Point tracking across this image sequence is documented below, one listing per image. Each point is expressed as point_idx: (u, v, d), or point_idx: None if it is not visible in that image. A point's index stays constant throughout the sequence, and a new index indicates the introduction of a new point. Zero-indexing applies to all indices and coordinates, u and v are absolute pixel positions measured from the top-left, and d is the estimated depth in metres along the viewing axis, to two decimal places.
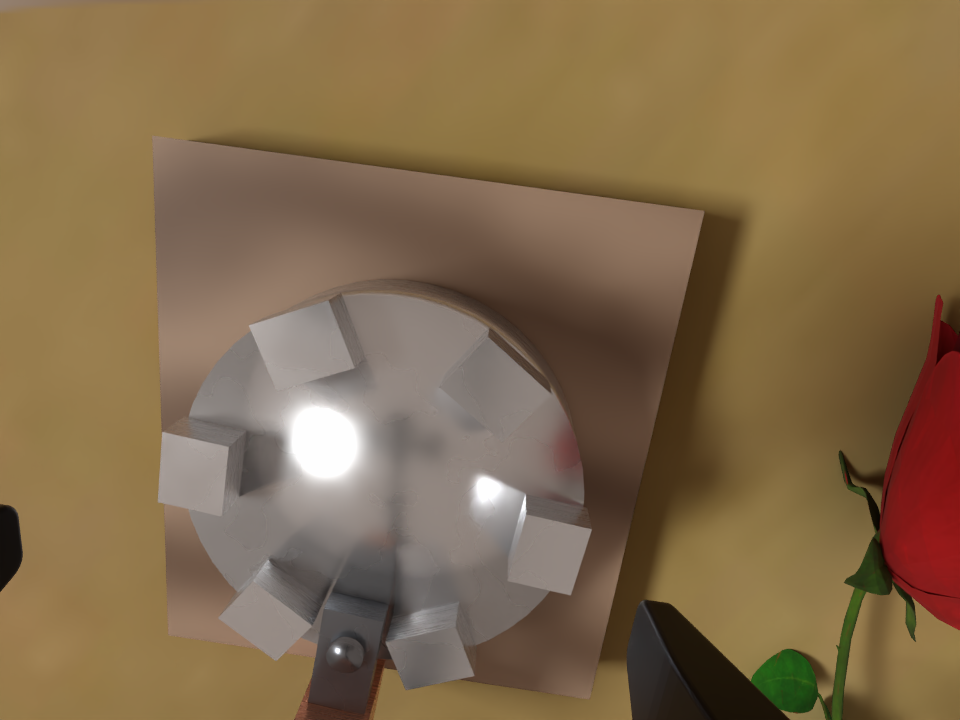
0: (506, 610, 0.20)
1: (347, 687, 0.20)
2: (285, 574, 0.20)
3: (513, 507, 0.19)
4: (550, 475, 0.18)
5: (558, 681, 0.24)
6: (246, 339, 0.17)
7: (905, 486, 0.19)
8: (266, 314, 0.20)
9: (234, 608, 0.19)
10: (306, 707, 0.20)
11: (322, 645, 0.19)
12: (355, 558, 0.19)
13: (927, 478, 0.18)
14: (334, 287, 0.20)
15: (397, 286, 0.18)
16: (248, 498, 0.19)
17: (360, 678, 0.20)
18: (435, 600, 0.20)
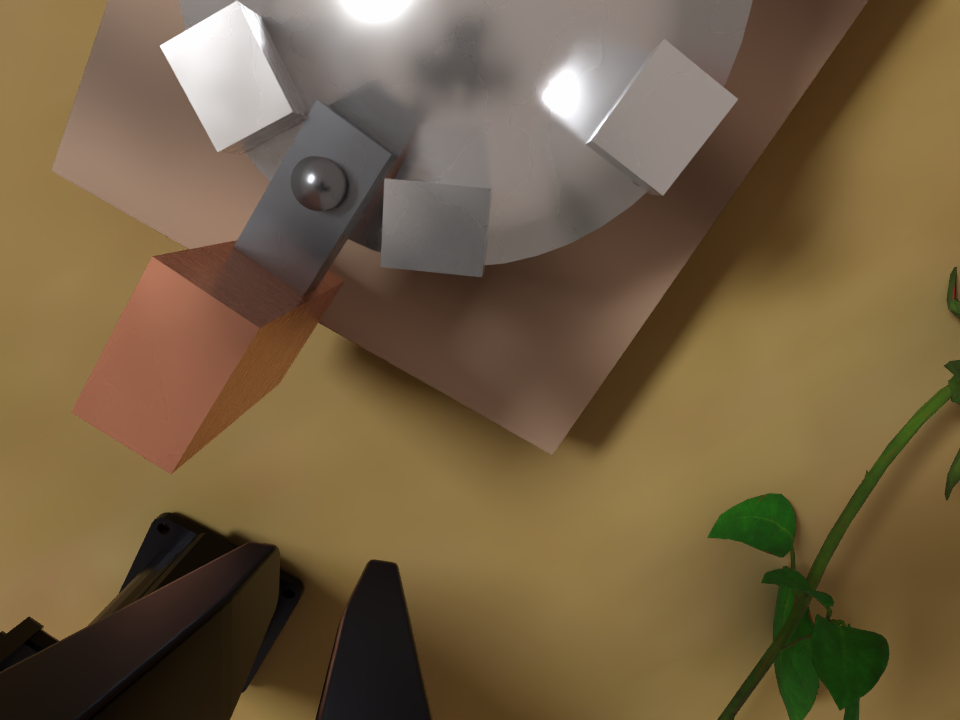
0: (547, 226, 0.14)
1: (298, 243, 0.14)
2: (275, 49, 0.14)
3: (627, 66, 0.13)
4: (696, 35, 0.13)
5: (526, 418, 0.19)
6: None
7: None
8: None
9: (191, 37, 0.13)
10: (230, 248, 0.14)
11: (290, 160, 0.13)
12: (382, 65, 0.14)
13: None
14: None
15: None
16: None
17: (322, 234, 0.14)
18: (461, 175, 0.14)
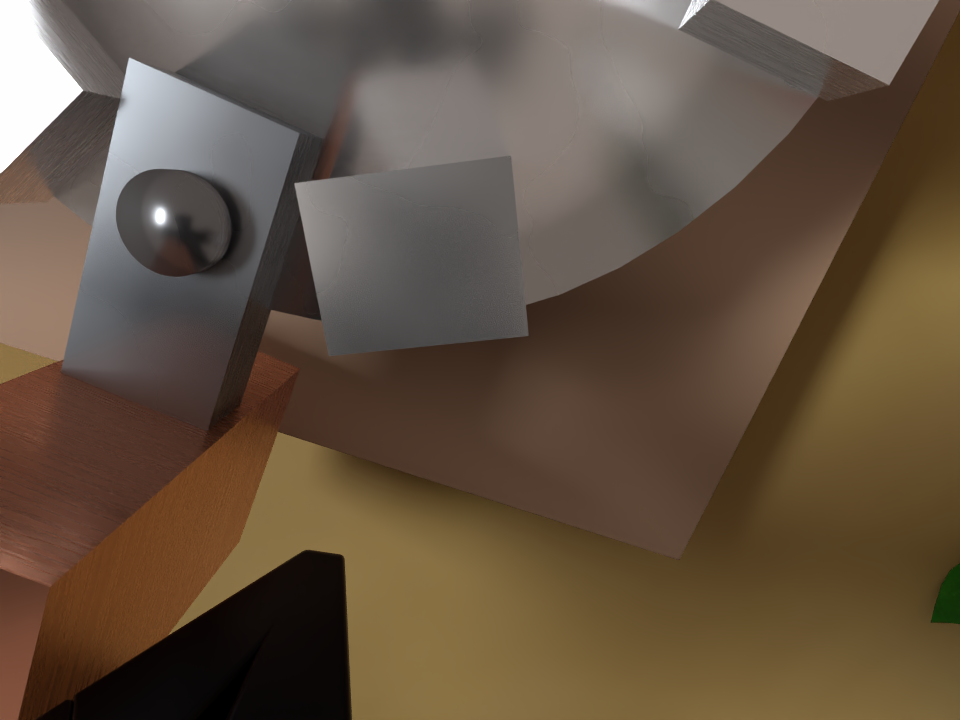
0: (629, 208, 0.07)
1: (171, 341, 0.07)
2: None
3: None
4: None
5: (628, 513, 0.12)
6: None
7: None
8: None
9: None
10: (50, 377, 0.07)
11: (114, 190, 0.07)
12: None
13: None
14: None
15: None
16: None
17: (210, 317, 0.07)
18: (448, 148, 0.07)
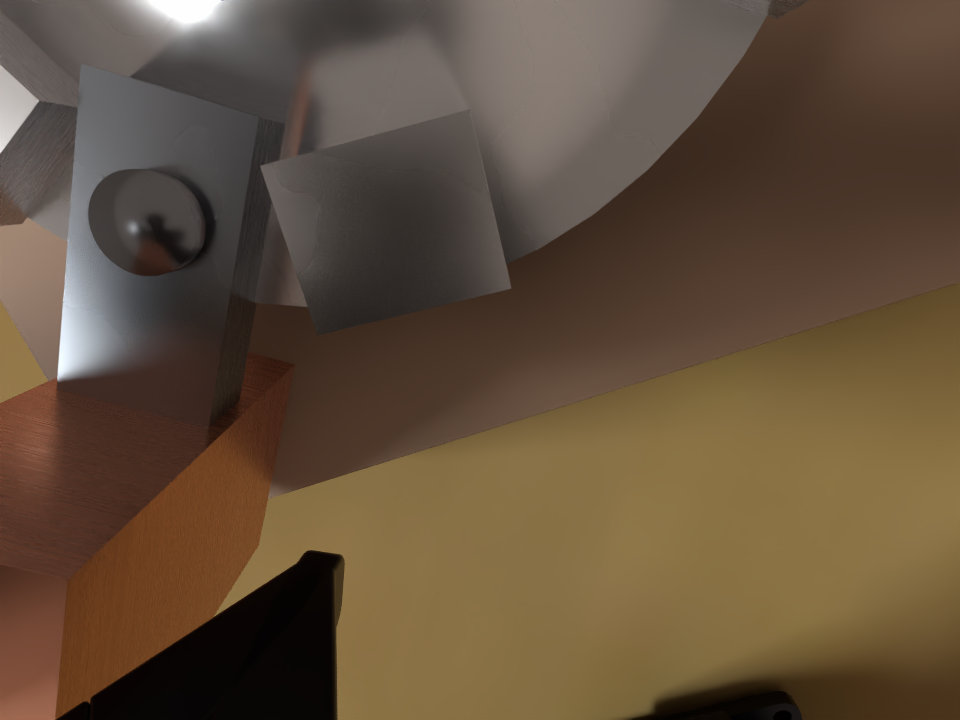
0: (596, 153, 0.08)
1: (161, 342, 0.07)
2: None
3: None
4: None
5: (904, 264, 0.11)
6: None
7: None
8: None
9: None
10: (46, 394, 0.07)
11: (84, 198, 0.07)
12: None
13: None
14: None
15: None
16: None
17: (196, 313, 0.07)
18: (409, 117, 0.07)
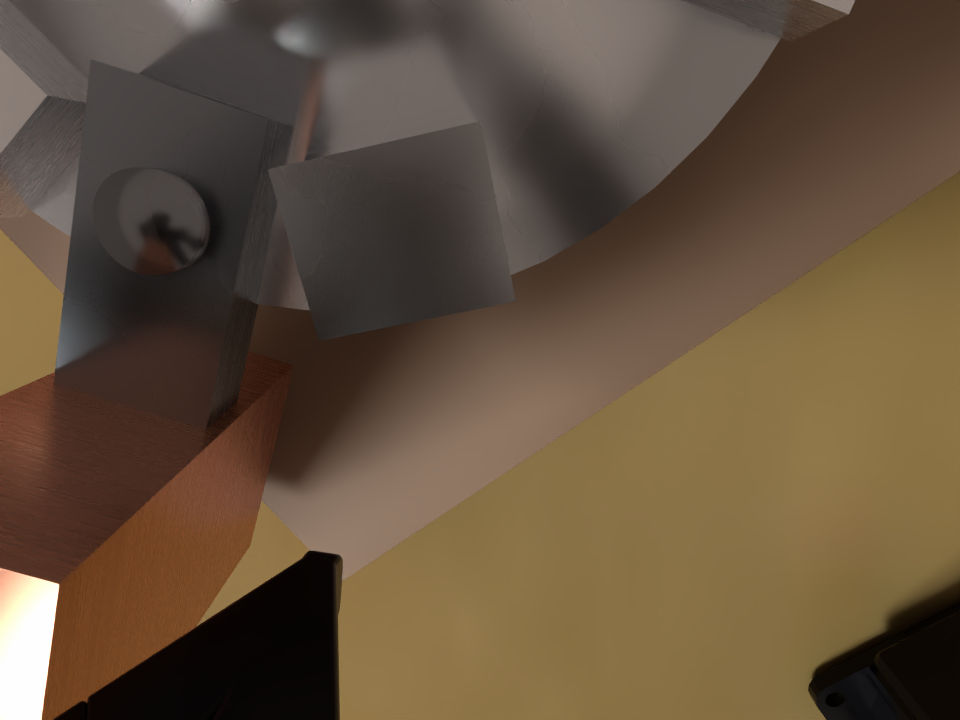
0: (605, 167, 0.07)
1: (161, 342, 0.07)
2: None
3: None
4: None
5: None
6: None
7: None
8: None
9: None
10: (42, 390, 0.07)
11: (90, 195, 0.07)
12: None
13: None
14: None
15: None
16: None
17: (197, 314, 0.07)
18: (419, 125, 0.07)
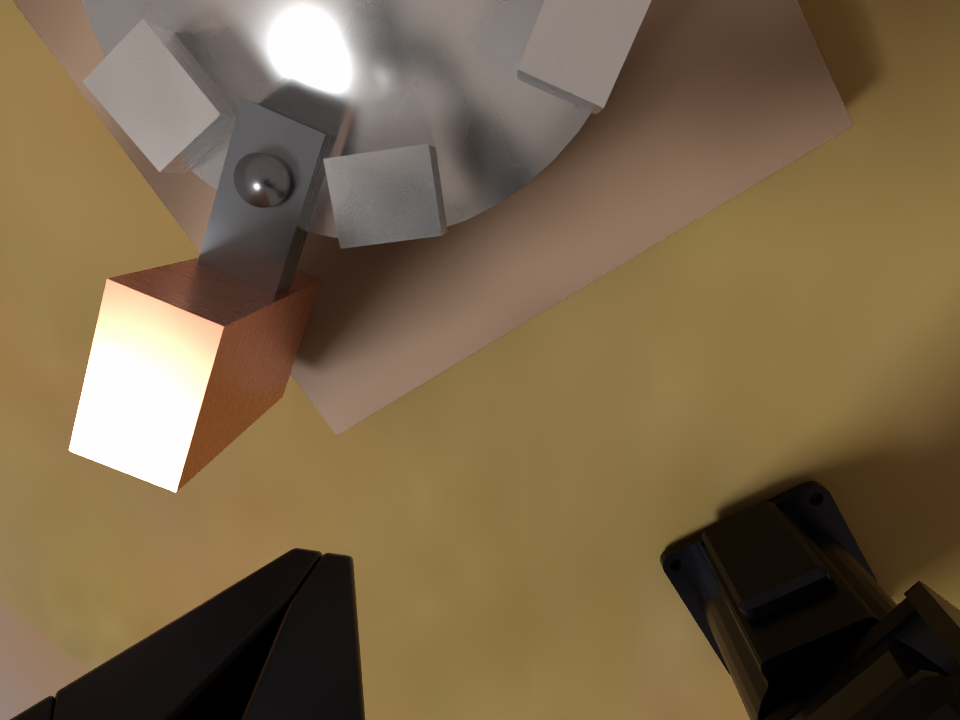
0: (499, 172, 0.14)
1: (257, 244, 0.14)
2: (195, 61, 0.14)
3: None
4: None
5: (793, 133, 0.16)
6: None
7: None
8: None
9: (110, 66, 0.13)
10: (193, 264, 0.14)
11: (230, 164, 0.14)
12: (299, 50, 0.14)
13: None
14: None
15: None
16: None
17: (278, 231, 0.14)
18: (402, 142, 0.14)
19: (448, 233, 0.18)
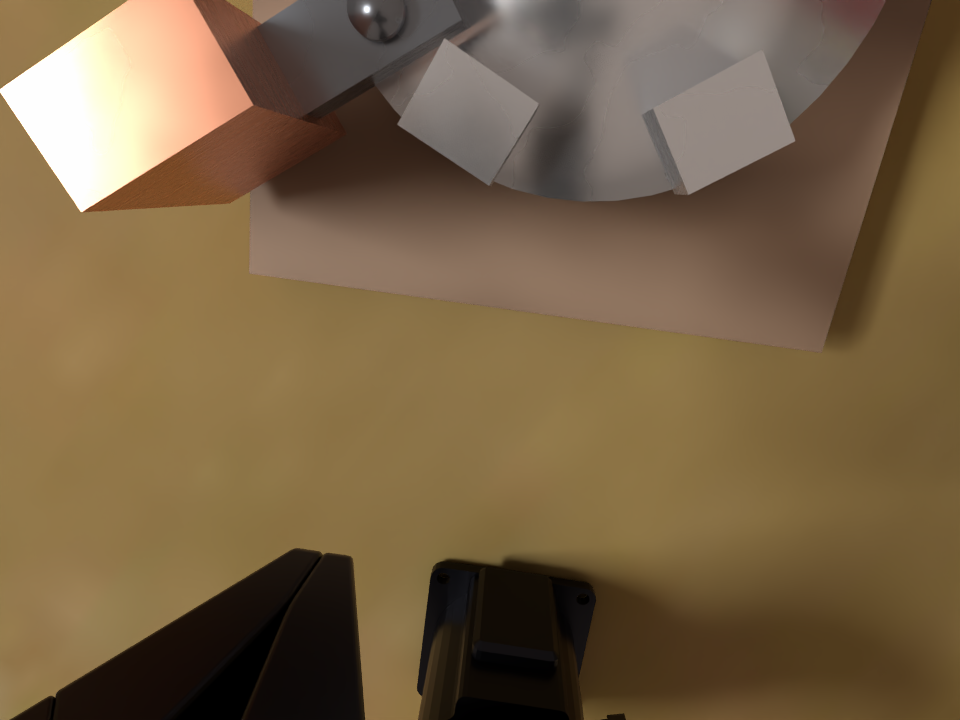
0: (569, 174, 0.14)
1: (326, 58, 0.13)
2: None
3: (714, 63, 0.13)
4: (785, 68, 0.13)
5: (781, 325, 0.18)
6: None
7: None
8: None
9: None
10: (253, 25, 0.13)
11: None
12: None
13: None
14: None
15: None
16: None
17: (354, 63, 0.13)
18: (514, 82, 0.14)
19: (480, 185, 0.17)
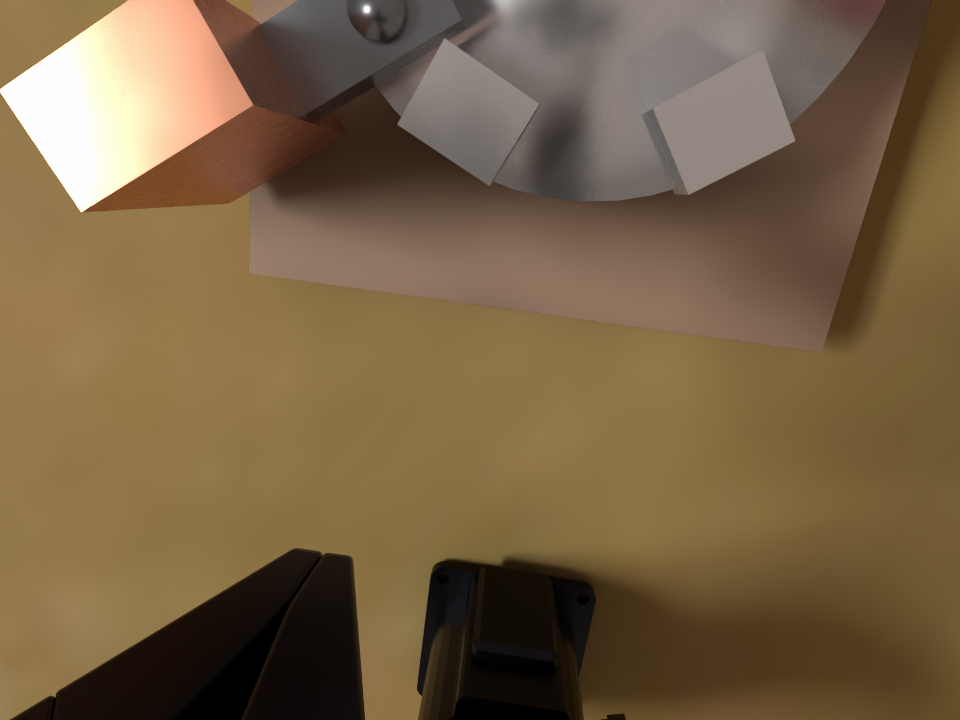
0: (569, 174, 0.14)
1: (326, 58, 0.13)
2: None
3: (714, 63, 0.13)
4: (785, 68, 0.13)
5: (781, 325, 0.18)
6: None
7: None
8: None
9: None
10: (253, 25, 0.13)
11: None
12: None
13: None
14: None
15: None
16: None
17: (354, 63, 0.13)
18: (514, 82, 0.14)
19: (480, 185, 0.17)
